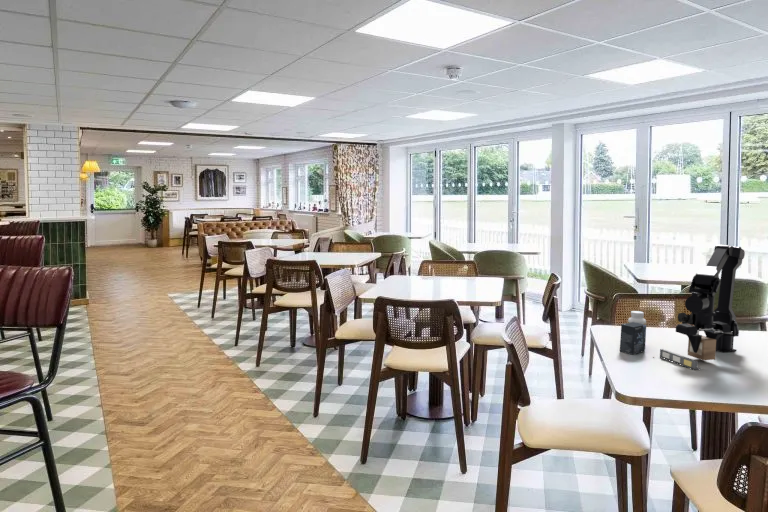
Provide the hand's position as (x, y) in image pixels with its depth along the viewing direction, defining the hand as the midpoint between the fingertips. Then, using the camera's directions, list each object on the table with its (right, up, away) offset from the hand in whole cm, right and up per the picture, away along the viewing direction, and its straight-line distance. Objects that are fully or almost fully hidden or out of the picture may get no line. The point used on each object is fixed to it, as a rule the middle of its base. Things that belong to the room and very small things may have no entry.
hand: (701, 352), depth 201 cm
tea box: (0, -2, 0) cm, 2 cm away
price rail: (-10, -4, -2) cm, 11 cm away
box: (-19, -2, +13) cm, 23 cm away
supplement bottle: (-13, -1, +24) cm, 27 cm away
